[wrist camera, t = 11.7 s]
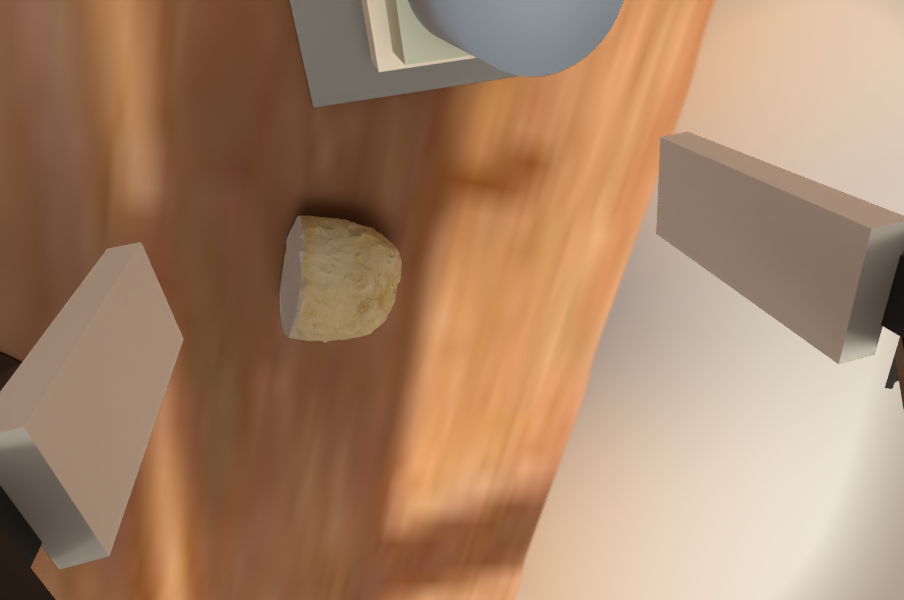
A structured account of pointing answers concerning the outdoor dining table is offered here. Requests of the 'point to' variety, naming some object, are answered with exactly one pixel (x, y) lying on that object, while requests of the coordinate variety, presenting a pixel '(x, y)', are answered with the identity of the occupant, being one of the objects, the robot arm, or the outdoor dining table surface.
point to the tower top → (415, 37)
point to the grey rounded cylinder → (520, 30)
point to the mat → (365, 58)
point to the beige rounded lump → (336, 279)
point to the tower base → (386, 39)
